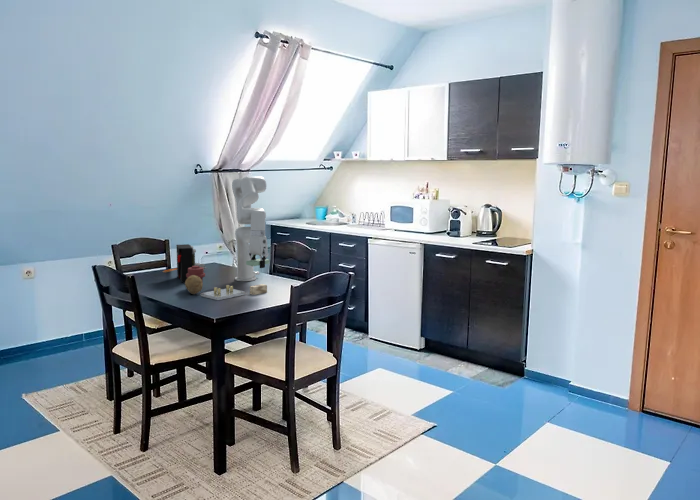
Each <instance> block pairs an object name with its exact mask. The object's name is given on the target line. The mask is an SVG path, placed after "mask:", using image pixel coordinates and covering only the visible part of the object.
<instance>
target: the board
mask: <svg viewBox="0 0 700 500" xmlns="http://www.w3.org/2000/svg"><path fill="white" fill-rule="evenodd" d="M270 260H271V259H268V258H266V260H265V265H269V264H270V263H271V262H270ZM260 261H261V260H260V258H256V259H255V260H249V261H246V265H250V266H253V267H257V266H259V267H260Z"/></svg>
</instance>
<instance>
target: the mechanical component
mask: <svg viewBox="0 0 700 500" xmlns="http://www.w3.org/2000/svg"><path fill="white" fill-rule="evenodd" d="M192 275H196V276H198V277H200V278H201V280H202V283H203V282H204V281H203V280H204V279H203V278H205V277H206V273H205V270H204V268H203V267H199V266H192V267H190V268H188V273H187V274H186V277H187V278H188V277H190V276H192ZM203 285H204V283H203V284H202V286H203Z"/></svg>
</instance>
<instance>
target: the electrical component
mask: <svg viewBox="0 0 700 500" xmlns="http://www.w3.org/2000/svg"><path fill="white" fill-rule="evenodd" d="M175 247H176V268H177V271H176V274H177V275H176V276H177V277H178V278H177V280H180V282H181V284H185V281H186V279H187V277H186V274H187V273H188V268H190V267H192V266H195V263H196V254H195V253H196V252H197V250H196V249H195V248H194V246H193V245H192V244H189V243H188V244H176V246H175Z"/></svg>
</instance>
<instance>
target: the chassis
mask: <svg viewBox="0 0 700 500" xmlns="http://www.w3.org/2000/svg"><path fill="white" fill-rule="evenodd" d="M245 295H247V291H243V290H239V289H235V288H234V285H230V284H226V285H225V288H221V287H217V286H216V287H215V286H214V287H213V290H211V291H205V292H201V293H200V297H203V298H207V299H211V300H215V301H221V300H226V299H231V298H235V297H236V298H237V297H240V296H245Z"/></svg>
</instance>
